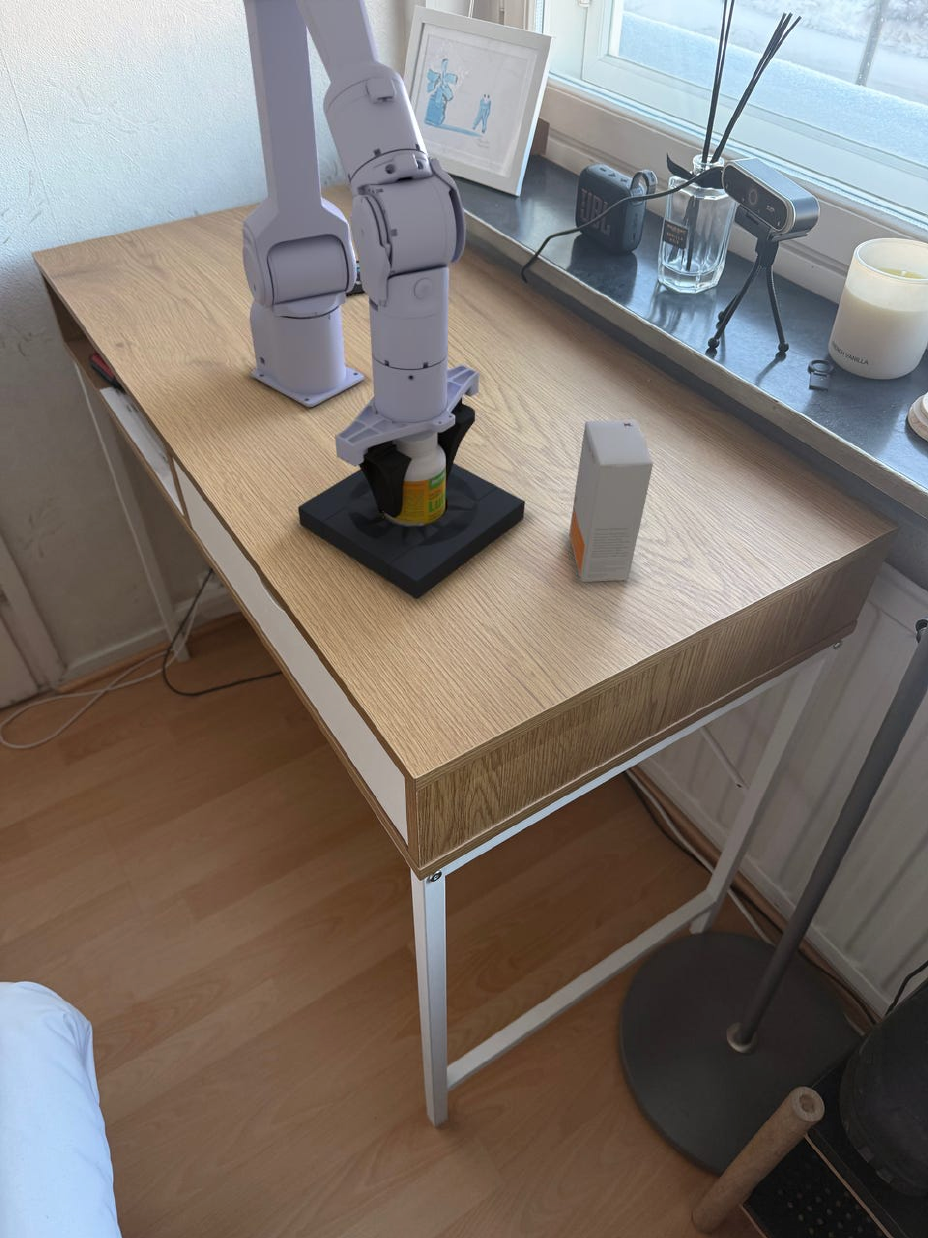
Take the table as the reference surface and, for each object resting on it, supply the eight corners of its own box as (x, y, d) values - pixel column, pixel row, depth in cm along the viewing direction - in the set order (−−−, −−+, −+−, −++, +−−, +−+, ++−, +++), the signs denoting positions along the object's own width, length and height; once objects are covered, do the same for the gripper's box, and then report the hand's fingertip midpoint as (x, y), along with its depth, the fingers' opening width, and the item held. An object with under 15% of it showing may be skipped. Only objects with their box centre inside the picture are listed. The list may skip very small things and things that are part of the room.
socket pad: (300, 524, 76) (297, 506, 75) (409, 456, 84) (409, 438, 82) (417, 599, 70) (416, 581, 68) (523, 518, 78) (525, 500, 76)
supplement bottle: (437, 546, 75) (437, 451, 68) (376, 536, 75) (371, 442, 68) (450, 508, 78) (452, 414, 71) (392, 499, 79) (389, 406, 72)
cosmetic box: (566, 536, 76) (584, 418, 67) (614, 535, 76) (637, 417, 68) (579, 584, 72) (599, 464, 63) (629, 582, 72) (656, 463, 63)
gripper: (379, 409, 59) (387, 557, 69) (511, 334, 67) (501, 477, 77) (309, 372, 62) (326, 519, 72) (443, 305, 70) (442, 446, 80)
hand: (412, 495), depth 75 cm, fingers closed on supplement bottle, 5 cm apart
